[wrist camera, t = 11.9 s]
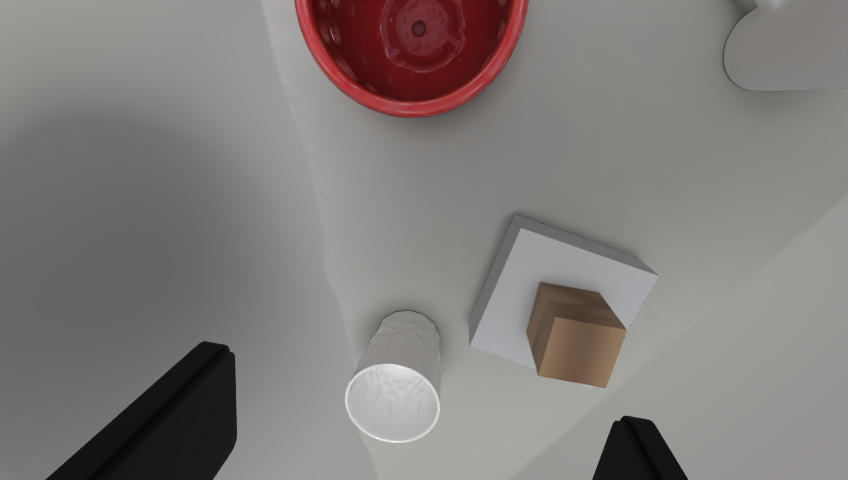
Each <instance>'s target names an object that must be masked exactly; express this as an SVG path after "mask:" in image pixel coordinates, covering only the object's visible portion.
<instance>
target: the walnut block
mask: <svg viewBox="0 0 848 480" xmlns="http://www.w3.org/2000/svg"><path fill="white" fill-rule="evenodd" d="M626 332H627V329H626V328H625V327H624V325H623V324H622V322H621V321H620V320H619V318H618V317H617V316H616V314H615V313H614V312H613V310H612V309H611V308H610V306H609V305H608V304H607V302H606V301H605V300H604V298H603V297H602V295H601V294H600V293H599V292H595V291H589V290H584V289H578V288H572V287H567V286H561V285H555V284H550V283H544V282H540V283H539V287H538V290H537V294H536V298H535V301H534V305H533V309H532V312H531V316H530V320H529V323H528V327H527V331H526V334H527V338H528V341H529V345H530V348H531V352H532V355H533V359H534V363H535V366H536V370H537V373H538V376H543V377H548V378H554V379H559V380H564V381H570V382H575V383H580V384H586V385H591V386H596V387H602V388H606V386H607V383H608V380H609V378H610V375H611V372H612V370H613V367H614V364H615V361H616V359H617V356H618V353H619V351H620V348H621V345H622V342H623V340H624V337H625V334H626Z"/></svg>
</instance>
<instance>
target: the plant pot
mask: <svg viewBox="0 0 848 480" xmlns="http://www.w3.org/2000/svg"><path fill="white" fill-rule="evenodd" d="M294 1H295V8H296V13H297V18H298V22H299V26H300V29H301V32H302V34H303V37H304V39H305V42H306V44H307V46H308V48H309V50H310V52H311V54H312V56H313V58H314V59H315V61H316V63H317V64H318V66H319V67H320V68H321V70H322V71H323V73H324V74H325V75H326V76H327V77H328V79H329V80H330V81H331V82H332V83H333V84H334V85H335V86H336V87H337V88H338V89H340V90H341V91H342V92H343V93H344V94H345V95H347V96H348V97H350V98H351V99H353V100H354V101H356V102H357V103H359V104H361V105H363V106H365V107H367V108H369V109H371V110H374V111H376V112H379V113H382V114H386V115H390V116H395V117H404V118H423V117H430V116H435V115H439V114H442V113H446V112H448V111H451V110H453V109H455V108H457V107H459V106H461V105H463V104H465V103H467V102H468V101H470V100H471V99H473V98H474V97H476V96H477V95H478V94H479V93H481V92H482V91H483V90H484V89H485V88H486V87H487V86H488V85H489V84H490V83H491V82H492V81H493V80H494V79H495V78H496V77H497V75H498V74H499V73H500V72H501V70H502V69H503V67H504V66H505V64H506V63H507V61H508V60H509V58H510V56H511V54H512V52H513V50H514V48H515V46H516V44H517V41H518V39H519V36H520V33H521V31H522V28H523V25H524V21H525V17H526V13H527V7H528V0H332V2H331V0H294ZM330 29H331V31H332V34H333V37H334V40H333V38H332V35H331V32H330ZM338 64H339V65H338Z"/></svg>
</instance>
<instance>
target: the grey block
mask: <svg viewBox="0 0 848 480" xmlns="http://www.w3.org/2000/svg"><path fill="white" fill-rule="evenodd" d="M658 278H659V275H658V274H656V273H655V272H654V271H653V270H652V269H650V268H649V267H648V266H647V265H646V264H645V263H643V262H642V261H641V260H640V259H639V258H638V257H636V256H634V255H631V254H628V253H625V252H622V251H620V250H617V249H614V248H611V247H608V246H605V245H602V244H599V243H597V242H594V241H591V240H588V239H585V238H582V237H579V236H576V235H574V234H571V233H568V232H565V231H562V230H559V229H556V228H554V227H551V226H548V225H545V224H542V223H539V222H536V221H533V220H531V219H528V218H525V217H522V216H519V215H516V214H514V216H513V218H512V221H511V223H510V225H509V228H508V230H507V232H506V235H505V237H504V240H503V242H502V244H501V247H500V249H499V251H498V254H497V256H496V258H495V261H494V263H493V265H492V268H491V270H490V272H489V275H488V277H487V280H486V282H485V284H484V287H483V289H482V291H481V294H480V296H479V298H478V301H477V303H476V305H475V308H474V310H473V312H472V315H471V317H470V320H469V346H470V347H472V348H475V349H478V350H481V351H484V352H487V353H490V354H493V355H496V356H499V357H502V358H504V359H507V360H510V361H513V362H516V363H519V364H522V365H525V366H528V367H531V368H533V369H536V366H535V363H534V359H533V355H532V352H531V348H530V345H529V341H528V338H527V334H526V331H527V327H528V323H529V320H530V316H531V312H532V309H533V305H534V301H535V298H536V294H537V290H538V287H539V283H540V282H544V283H550V284H555V285H561V286H567V287H572V288H578V289H584V290H589V291H595V292H599V293H600V294H601V295H602V297H603V298H604V300H605V301H606V302H607V304H608V305H609V306H610V308H611V309H612V310H613V312H614V313H615V314H616V316H617V317H618V318H619V320H620V321H621V322H622V324H623V325H624V327H625V328H626V329H627V330H628V329H629V327H630V325H631V324H632V322H633V320H634V318H635V317H636V315H637V313H638V312H639V310H640V308H641V307H642V305H643V303H644V301H645V300H646V298H647V296H648V295H649V293H650V291H651V290H652V288H653V286H654V284H655V283H656V281H657V279H658ZM574 383H575V382H574ZM577 384H580V383H577ZM580 385H583V386H586V387H589V388H592V389H593V388H594V386H591V385H586V384H580Z"/></svg>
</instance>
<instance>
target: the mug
mask: <svg viewBox="0 0 848 480" xmlns="http://www.w3.org/2000/svg"><path fill="white" fill-rule="evenodd" d="M754 1H755V2H756V4H757V6H758V8H756V9H754V10H752V11H751V12H749V13H748V14H747V15H746V16H744V17H743V18H742V19H741V20H740V21H739V22H738V23H737V25H736V26H735V27H734V29H733V30H732V32H731V33H730V35H729V37H728V39H727V42H726V45H725V49H724V66H725V70H726V72H727V74H728V76H729V78H730V79H731V80H732V81H733V82H734V83H735V84H736V85H738V86H740V87H742V88H744V89H747V90H752V91H790V90H822V89H848V0H754Z"/></svg>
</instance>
